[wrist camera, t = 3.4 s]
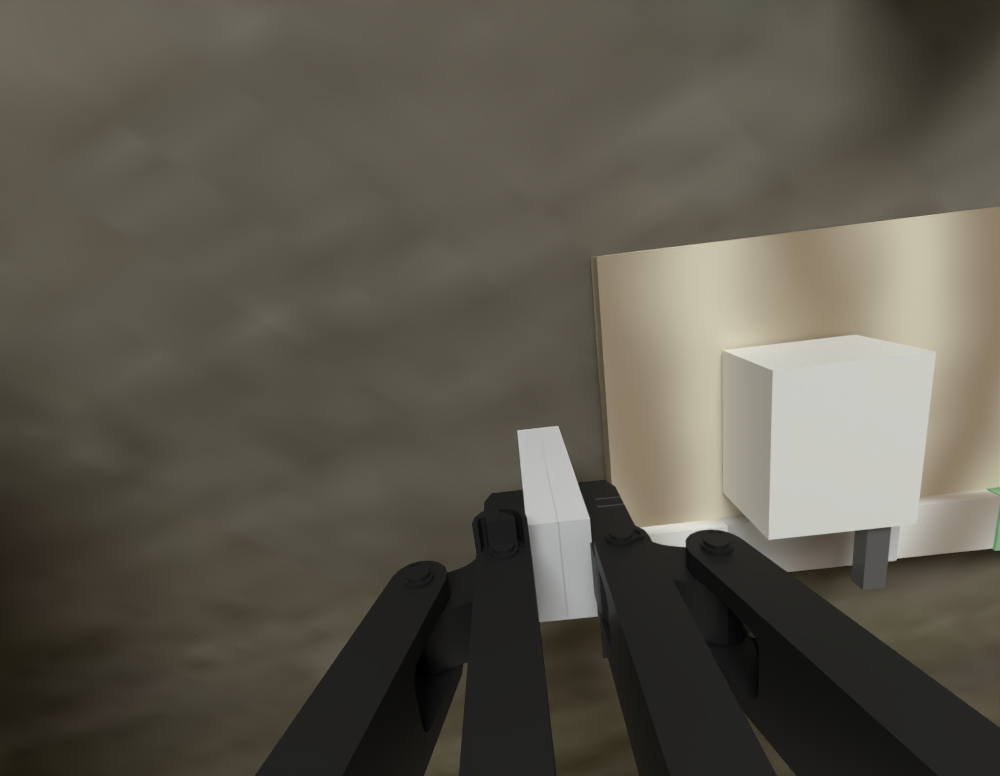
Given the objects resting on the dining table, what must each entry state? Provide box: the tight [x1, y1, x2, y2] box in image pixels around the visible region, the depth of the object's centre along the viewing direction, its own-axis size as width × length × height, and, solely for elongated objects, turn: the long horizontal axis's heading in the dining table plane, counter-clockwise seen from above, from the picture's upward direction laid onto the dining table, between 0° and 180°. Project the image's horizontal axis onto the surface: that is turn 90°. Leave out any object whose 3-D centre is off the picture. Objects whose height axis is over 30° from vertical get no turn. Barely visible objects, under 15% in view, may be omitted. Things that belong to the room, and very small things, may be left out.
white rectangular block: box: [722, 335, 936, 590], centre depth 18 cm, size 5×9×4 cm, turn 7°
